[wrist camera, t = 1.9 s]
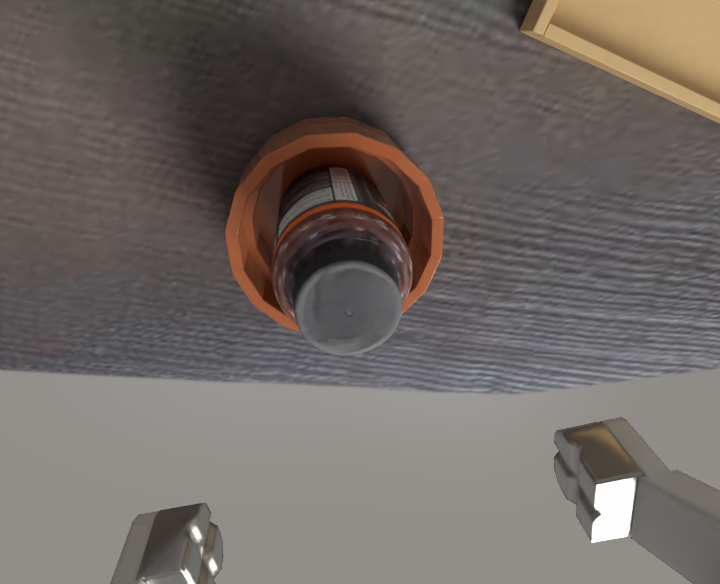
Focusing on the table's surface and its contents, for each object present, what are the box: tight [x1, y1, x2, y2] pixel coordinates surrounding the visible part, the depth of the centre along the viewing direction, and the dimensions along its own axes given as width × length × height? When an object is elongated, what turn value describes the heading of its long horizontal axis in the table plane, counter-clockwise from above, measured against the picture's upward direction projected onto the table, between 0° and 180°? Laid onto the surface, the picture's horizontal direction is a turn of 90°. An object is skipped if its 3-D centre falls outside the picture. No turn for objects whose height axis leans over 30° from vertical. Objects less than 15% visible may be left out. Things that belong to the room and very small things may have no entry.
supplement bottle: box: [271, 164, 413, 356], centre depth 23 cm, size 6×6×11 cm
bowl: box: [225, 116, 444, 331], centre depth 26 cm, size 10×10×5 cm
